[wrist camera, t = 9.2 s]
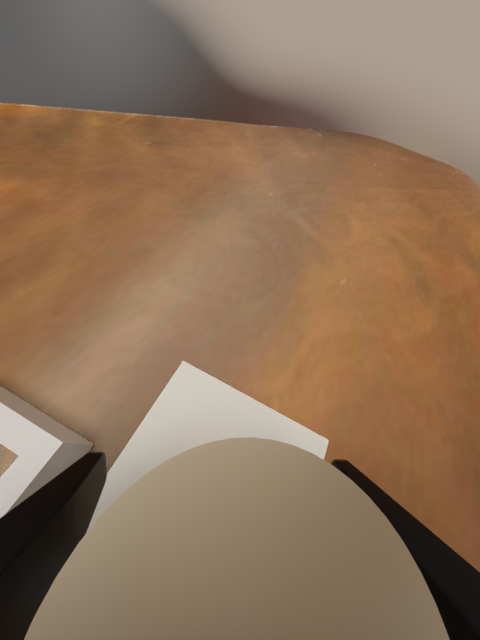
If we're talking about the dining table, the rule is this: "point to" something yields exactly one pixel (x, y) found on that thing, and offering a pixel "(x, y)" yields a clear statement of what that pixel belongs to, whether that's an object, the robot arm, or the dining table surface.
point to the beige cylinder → (240, 557)
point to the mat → (197, 428)
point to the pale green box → (33, 449)
